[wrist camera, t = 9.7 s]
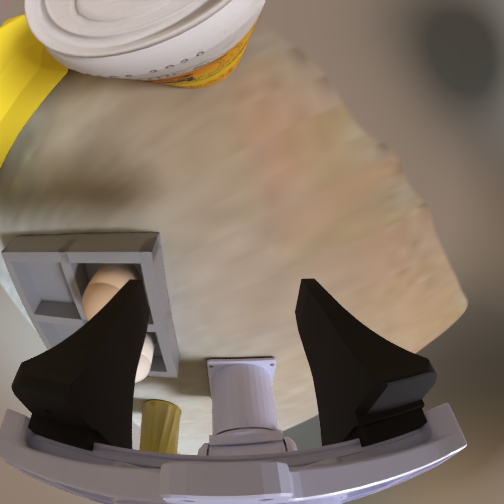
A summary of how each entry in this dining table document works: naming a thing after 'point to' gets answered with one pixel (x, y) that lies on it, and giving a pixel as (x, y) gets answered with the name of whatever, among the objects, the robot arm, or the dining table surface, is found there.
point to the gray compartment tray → (78, 277)
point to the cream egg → (146, 357)
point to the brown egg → (106, 285)
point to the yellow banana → (22, 78)
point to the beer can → (146, 37)
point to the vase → (160, 427)
